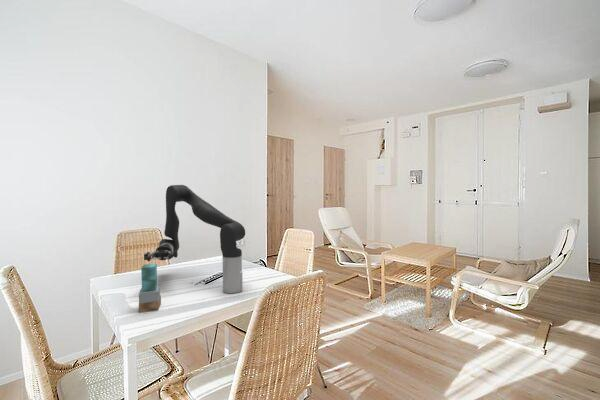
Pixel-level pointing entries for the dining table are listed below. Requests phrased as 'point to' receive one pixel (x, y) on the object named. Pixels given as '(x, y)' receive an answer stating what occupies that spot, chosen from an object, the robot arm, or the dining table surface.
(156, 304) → the walnut slab
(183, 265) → the dining table surface
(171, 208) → the robot arm
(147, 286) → the teal pillar
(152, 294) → the grey slab
